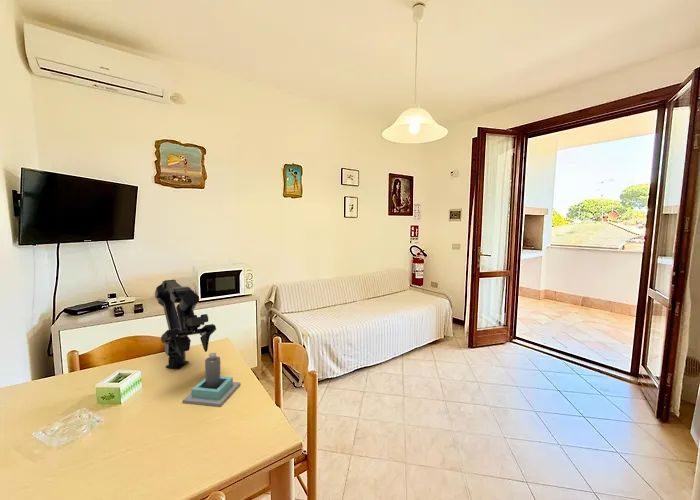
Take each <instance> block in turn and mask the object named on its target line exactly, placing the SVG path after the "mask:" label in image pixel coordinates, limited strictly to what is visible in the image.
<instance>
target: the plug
mask: <svg viewBox="0 0 700 500" xmlns="http://www.w3.org/2000/svg"><path fill="white" fill-rule="evenodd" d="M204 367H205V368H204V369H205V371H204V374H205V376H204V378H205V388H209V389H217V388H218V387H219V386H220V376H221V357H220V356H217V353H216V352H210V353H208V357H207V358H206V359H205V360H204Z"/></svg>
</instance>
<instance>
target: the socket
mask: <svg viewBox="0 0 700 500" xmlns="http://www.w3.org/2000/svg"><path fill="white" fill-rule="evenodd" d="M240 386H241V382H236V381H234V377H232V376H222V375H220V386H219V387H218V388H217V389H209V388H205V377H204V378H203V379H202V380H201V381H200V382H198V383H197V384H196V385H195V386H193V387H192V388H191V392H190V393H189V394H188V395H187V396H186V397H185V398H183V399H182V404H190V405H191V404H192V405H197V406H198V405H199V406H200V405H201V406H209V407H218V408H219V407H220V408H221V407H222V406H223V404H225V403H226V402H227V400H228V399H229V398H230V397H231V396H232V395H233V394H234V392H235V391H237V389H239V387H240Z"/></svg>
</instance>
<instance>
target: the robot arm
mask: <svg viewBox="0 0 700 500" xmlns="http://www.w3.org/2000/svg"><path fill="white" fill-rule="evenodd" d="M154 298H155V299H156V300H157V303H158V304H159V305H160V306H161V307H162V308H163V311H164V316H165V320H166V323H167V328H168V329H167V330H166V331H165V332H164V333H163V334H162V335H161V336H160V341H161V343H165V345H164V353H165V354H166V356H168V364H167V365H166V366H165V368H167V369H177V370H179V369H181V368H183V367H184V366H186V365H187V364H188V363H189V360H187V359H186V352H187V351H190V347H191V341H192V340H191V339H190V337H189V336H193V335H199V336H200V337H199V338H200V342H201V345H202V348H203V351H204V352H207V351H208V348H209V343H210V337H211V335H212V334H213V333H214V332H216V330H217V327H216V325H215V324H213V323H211V324H205V323H209V316H208V314H207V313H205V314H200V316H197V314H195V312H194V309H195V308H196V307H197V305H198V303H199V301H200V297H199V295H198V294H197V293H195V291H193V289H192V288H191V287H189V286H182V285H180V284H179V283H178V282H177V280H176V279H165V280H163V281H162V282H161V284H159V285H158V286H156V288H155V291H154ZM176 304H177V305H176ZM203 325H204V326H203ZM201 326H202V327H201ZM200 327H201V328H200Z"/></svg>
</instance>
